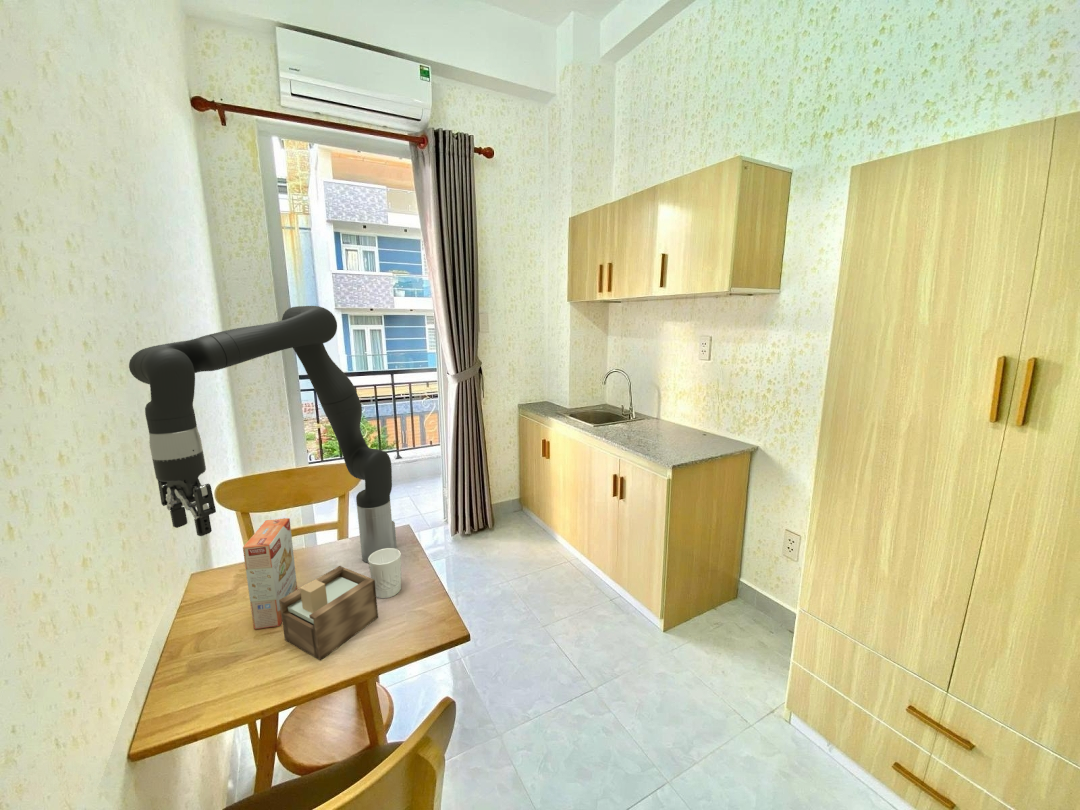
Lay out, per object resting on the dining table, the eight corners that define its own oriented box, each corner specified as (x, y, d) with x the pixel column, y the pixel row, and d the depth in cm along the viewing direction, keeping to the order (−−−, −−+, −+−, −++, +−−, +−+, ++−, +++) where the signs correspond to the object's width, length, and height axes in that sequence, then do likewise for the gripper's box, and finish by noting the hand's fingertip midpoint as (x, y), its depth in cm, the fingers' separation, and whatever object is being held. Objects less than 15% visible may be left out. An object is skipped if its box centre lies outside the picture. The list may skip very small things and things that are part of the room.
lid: (340, 579, 106) (337, 557, 105) (369, 592, 101) (367, 569, 100) (288, 610, 95) (284, 586, 93) (318, 626, 90) (315, 600, 89)
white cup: (404, 596, 111) (401, 560, 109) (371, 603, 108) (367, 566, 106) (402, 579, 118) (399, 545, 116) (371, 585, 115) (368, 551, 113)
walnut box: (343, 601, 109) (339, 565, 107) (378, 617, 103) (374, 579, 101) (284, 640, 96) (279, 599, 94) (320, 660, 90) (315, 618, 88)
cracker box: (282, 626, 100) (270, 543, 96) (253, 631, 99) (239, 547, 94) (300, 590, 113) (290, 516, 109) (274, 594, 112) (263, 519, 108)
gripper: (221, 451, 83) (233, 528, 86) (180, 442, 89) (193, 515, 92) (175, 463, 76) (191, 546, 80) (134, 453, 82) (150, 531, 86)
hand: (192, 530), depth 86 cm, fingers open, 8 cm apart
